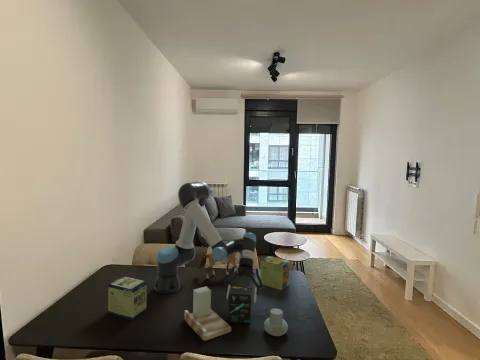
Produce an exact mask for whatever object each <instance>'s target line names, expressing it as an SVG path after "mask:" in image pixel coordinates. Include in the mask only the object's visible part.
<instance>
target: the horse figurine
mask: <svg viewBox="0 0 480 360" xmlns="http://www.w3.org/2000/svg"><path fill="white" fill-rule="evenodd" d="M238 253H239V255H240V254H241V252H238ZM236 255H237V253H234V254H233V255H231V256H229V257H227V258H226V259H225V260H222V261H215V260H214V259H213V257H212V251H211V252H210V253H207V254H205V255H204V256H202V258H201V260H200V263H199V265H197V267H196V269H198V270H202V269H203V268H204V267H205V266H206V264H207V259H208V263H209V265H208V267H207V268H206V274H205V276H206V279H210V276H209V272H210V270H211V271H212V275H213V276H215V275H216V272H215V270H214V268H213V267H214V265H215V264H216V262H217V263H218V262H220V263H226V270H225V273H226V276H228V275H229V273H230V272H228V269H229V265H230V264H232V267H235V268H238V266H237V264H236V261H237V259H236V258H237V257H236ZM237 273H238V271H236V274H237Z"/></svg>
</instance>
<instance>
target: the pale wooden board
mask: <svg viewBox="0 0 480 360" xmlns="http://www.w3.org/2000/svg"><path fill="white" fill-rule="evenodd" d="M184 321H185V322H186V323H187V325H189V326H190V328H191V329H192V330H193V331H194V332H195V333H196V334H197V335H198V336H199V338H200V339H201V340H202V341H203V342H206V341H209V340H211V339H214V338H216V337H219V336H222V335H225V334H228V333H230V332H232V327H231V325H229V323H228V322H226V321H225V320H224V319H223V318H222V317H221V316H219V315H218V314H217V312H215V311H214V310H213V309H211V311H210V314H208V315H205V316H202V317H199V318H197V317H196V316H195V315H194V314H193V312H192V313H191V312H189V310H186V309H185V310H184Z"/></svg>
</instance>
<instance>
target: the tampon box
mask: <svg viewBox="0 0 480 360" xmlns="http://www.w3.org/2000/svg"><path fill="white" fill-rule="evenodd" d="M230 286H231V288H230V292H229V300H228V320H227V321H228V322H227V323H237V324H251V320H252V314H253V312H252V311H253V286H246V285H245V286H243V285H230Z"/></svg>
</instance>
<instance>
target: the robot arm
mask: <svg viewBox="0 0 480 360" xmlns="http://www.w3.org/2000/svg"><path fill="white" fill-rule="evenodd" d="M177 197H178V201H179V203H180V205H181V207H182V208H183V210H184V211H185V212H184V217H183V221H182V224H181V229H180V234H179V239H178V240H176V241H175V244H174V247H173V246H168V247H164V248H162V249H160V250H159V251H158V253H157V259H156V260H157V277H156V280H155V281H154V289H153V290H154V292H156V293H158V294H162V295H168V294H173V293H176V292H178V291H180V289H181V281H180V278H179V275H178V273H179V272H178V271H179V268H181V267H182V266H185V265H186V264H188V263H190V262H191V261H193V260H194V259H195V258H196V257H195V256H196V249H195V244H194V237H195V234H196V230H197V228H198V230H199V231H200V233H201V235H202V236H203V238H204V239H205V241H206V242H207V244H208V246H209V247H210V249H211V252H212V257H213V259H214V260H215V261H218V262H219V261H222V260H225V259H226V258H227V257H229V256H231V255H233V254H234V253H236V254H238V253H239V252H241V254H240V253H239V261H238V266H237V268H235V267H234V266H232V267H231V271H230V272H228V273H229V275H226V277H225V278H224V280H223V284H224V286H225V292H226V300H228V301H229V292H230V288H231V286H232V284H234V283H235V281H237V280H238V279H240V277H241V278H249V279H250V281H251V282H252V283H253V285H254V286H255V288H254V294H253V297H254V298H253V303H257V296H259V295H260V289H261V290H263V288H264V285H263V284H262V282H261V279H260V276H261V275H260V274H259V269H258V268H256V269H253V268H254V259H255V251H256V244H257V236H256V234H254V233H252V232H245V233H243V236H242V237H241V238H236V239H229V240H225V241H224V240H223V238H222V237H221V235H220V233H219V232H218V230H217V229H216V228H215V226H214V225H213V223H212V221H211V220H210V218H209V217H208V215H207V214H206V212H205V211H204V210H203V207H205V203H206V201H207V200H209V198H210V197H211V188H210V187H209V184H207V183H206V182H204V181H195V182H186V183H184V184H182V185H181V186H180V187H179V189H178V193H177ZM237 271H238V273H237ZM235 273H236V274H235ZM253 273H254V275H255V276H256V278H257V281H256V280H255V278H254V276H253V275H252V274H253ZM234 274H235V275H234Z"/></svg>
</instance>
